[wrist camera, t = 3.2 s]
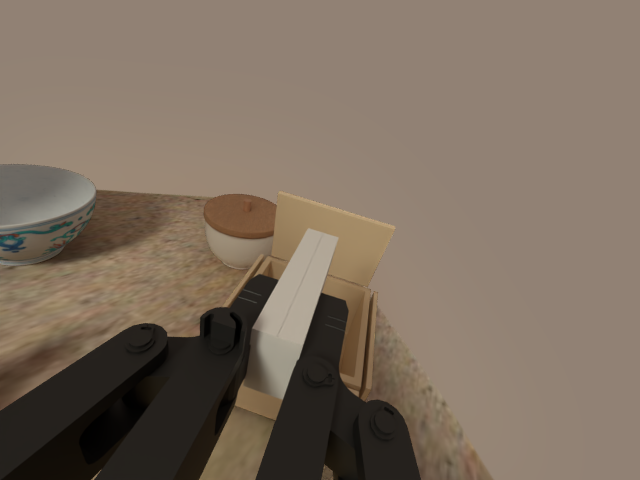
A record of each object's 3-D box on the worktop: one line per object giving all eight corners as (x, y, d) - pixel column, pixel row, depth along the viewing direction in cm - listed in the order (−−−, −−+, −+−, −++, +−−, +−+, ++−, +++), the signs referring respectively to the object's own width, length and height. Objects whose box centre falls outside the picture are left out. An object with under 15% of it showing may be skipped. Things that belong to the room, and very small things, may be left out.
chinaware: (-21, 314, 28) (-55, 247, 24) (-101, 248, 32) (-140, 181, 28) (131, 249, 40) (125, 197, 36) (59, 207, 44) (47, 156, 40)
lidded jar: (291, 264, 46) (303, 210, 41) (231, 291, 38) (238, 229, 33) (247, 230, 51) (254, 179, 46) (187, 248, 43) (187, 189, 38)
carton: (195, 395, 26) (197, 340, 23) (254, 299, 38) (262, 251, 34) (342, 449, 25) (370, 400, 22) (358, 334, 37) (377, 289, 33)
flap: (271, 255, 33) (278, 193, 27) (273, 252, 33) (279, 190, 28) (367, 287, 32) (394, 229, 26) (368, 283, 32) (395, 226, 27)
